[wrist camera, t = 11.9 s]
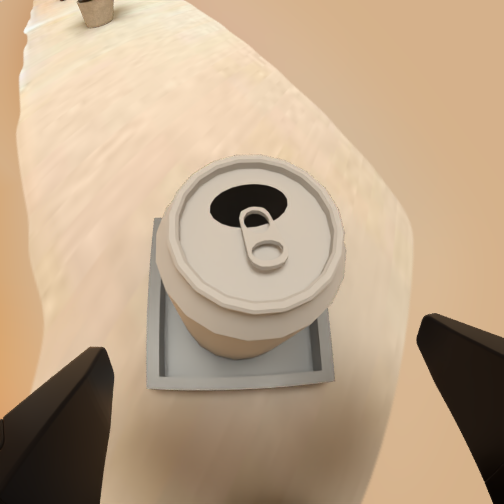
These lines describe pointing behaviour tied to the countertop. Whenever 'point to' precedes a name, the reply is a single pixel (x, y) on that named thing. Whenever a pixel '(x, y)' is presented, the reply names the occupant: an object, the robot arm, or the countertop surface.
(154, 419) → the countertop surface
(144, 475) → the countertop surface
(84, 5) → the house plant
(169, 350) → the tray
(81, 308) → the countertop surface
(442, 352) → the robot arm
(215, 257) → the can
